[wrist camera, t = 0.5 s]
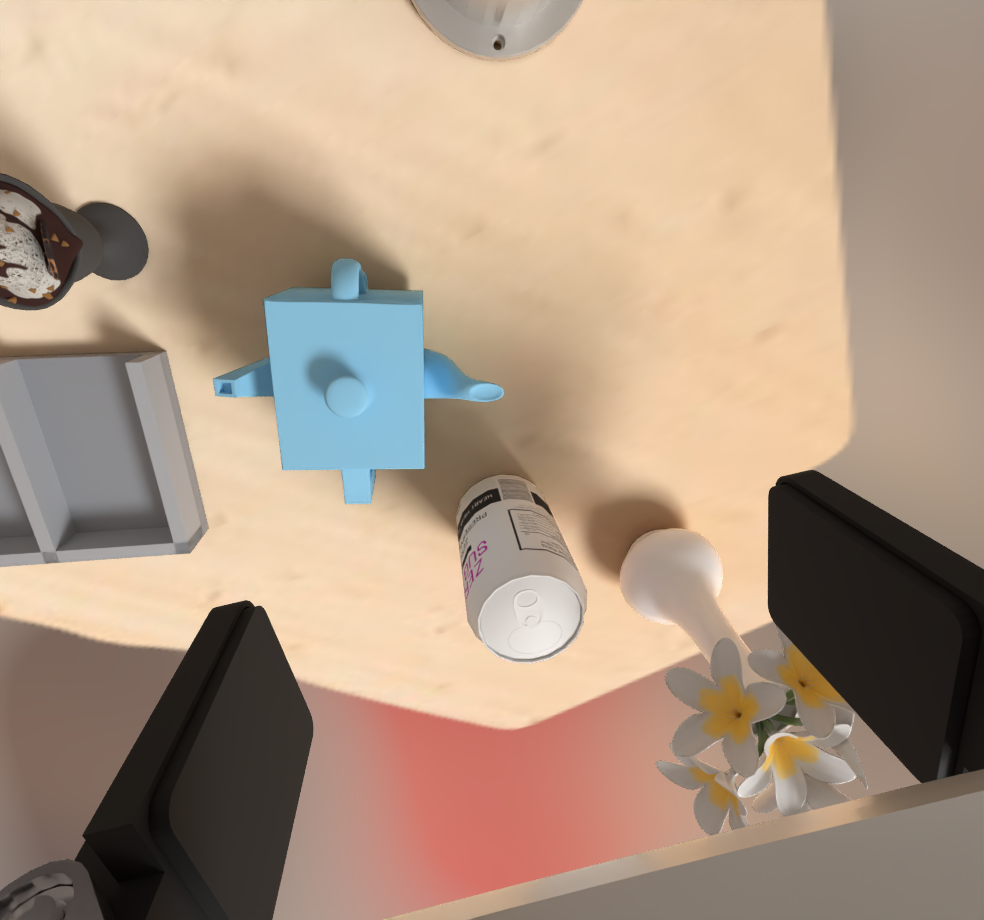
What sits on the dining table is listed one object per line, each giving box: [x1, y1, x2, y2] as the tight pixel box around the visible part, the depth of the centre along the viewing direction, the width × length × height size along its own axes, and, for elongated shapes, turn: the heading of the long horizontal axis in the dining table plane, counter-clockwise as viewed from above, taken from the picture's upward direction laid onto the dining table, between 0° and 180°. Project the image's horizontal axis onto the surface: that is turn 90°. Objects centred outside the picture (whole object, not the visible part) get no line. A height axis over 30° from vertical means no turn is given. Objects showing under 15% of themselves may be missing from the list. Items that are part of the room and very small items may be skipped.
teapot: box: [213, 258, 504, 504], centre depth 38 cm, size 16×18×11 cm
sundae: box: [0, 173, 148, 310], centre depth 31 cm, size 7×7×15 cm
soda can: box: [456, 475, 587, 663], centre depth 42 cm, size 8×8×15 cm
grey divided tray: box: [0, 351, 208, 567], centre depth 41 cm, size 15×20×4 cm
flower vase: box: [619, 528, 868, 836], centre depth 41 cm, size 13×18×25 cm
